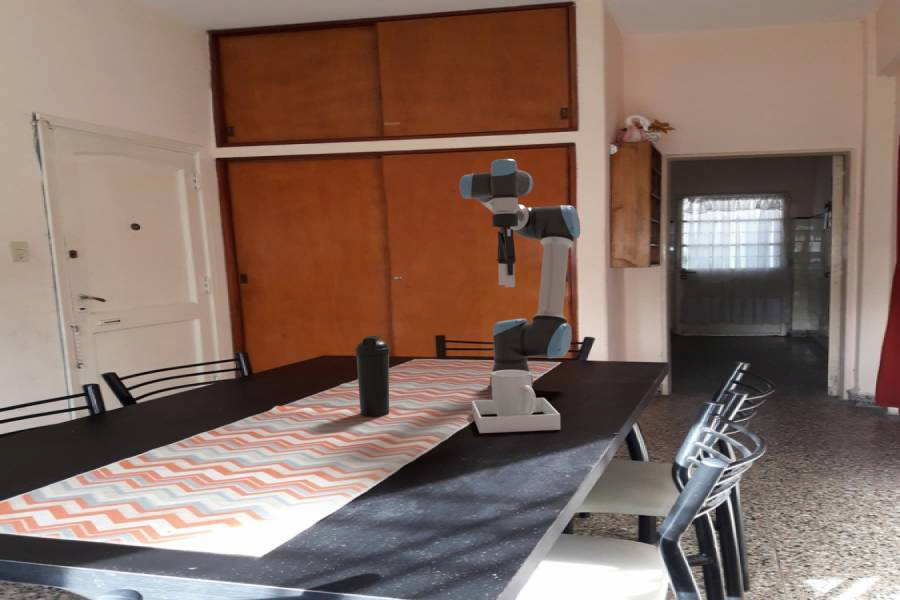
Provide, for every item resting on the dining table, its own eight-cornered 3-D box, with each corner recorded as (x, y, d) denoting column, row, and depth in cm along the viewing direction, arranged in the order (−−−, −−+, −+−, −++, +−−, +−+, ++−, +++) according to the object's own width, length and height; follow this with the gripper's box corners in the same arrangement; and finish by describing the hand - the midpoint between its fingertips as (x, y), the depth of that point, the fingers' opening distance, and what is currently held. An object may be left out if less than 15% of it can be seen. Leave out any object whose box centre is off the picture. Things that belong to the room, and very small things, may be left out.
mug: (550, 422, 186) (549, 374, 185) (519, 429, 180) (518, 379, 179) (514, 413, 198) (513, 368, 197) (484, 419, 192) (483, 372, 191)
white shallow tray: (472, 414, 199) (471, 400, 199) (544, 411, 201) (544, 397, 200) (479, 433, 178) (479, 417, 178) (560, 429, 180) (560, 414, 179)
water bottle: (394, 409, 209) (392, 334, 207) (388, 417, 199) (385, 338, 197) (362, 409, 210) (359, 334, 208) (354, 417, 200) (351, 339, 198)
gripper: (487, 216, 213) (488, 284, 214) (497, 210, 188) (499, 288, 189) (511, 215, 213) (512, 283, 215) (524, 210, 188) (526, 287, 190)
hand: (506, 286), depth 202 cm, fingers open, 13 cm apart
